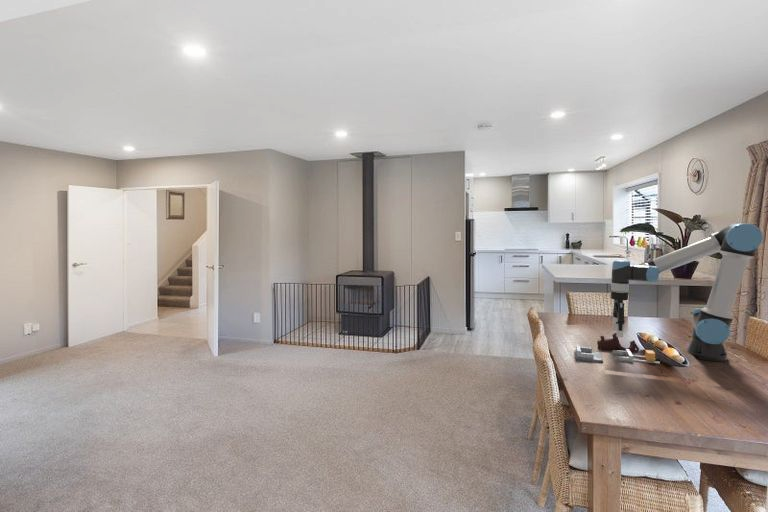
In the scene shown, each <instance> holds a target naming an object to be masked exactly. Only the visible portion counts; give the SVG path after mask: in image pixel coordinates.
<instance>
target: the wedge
mask: <svg viewBox="0 0 768 512" xmlns="http://www.w3.org/2000/svg"><path fill="white" fill-rule="evenodd" d="M644 356H645V358H644V359H645V360H646V361H656V359H655V357H656V352H655V351H654V350H651V349H645V350H644Z"/></svg>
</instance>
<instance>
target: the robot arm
mask: <svg viewBox="0 0 768 512" xmlns="http://www.w3.org/2000/svg"><path fill="white" fill-rule="evenodd" d="M763 234H764V233H763V232H762V230H761V229H760V228H759V227H758V226H757V225H755V224H753V223H749V222H736V223H735V222H734V223H732V224H729V225H728V226H726V227H724V228H722V229H721V230H718V231H716V232H713V233H711V235H710V237H707V238H705V239H702V240H698V241H696V242H694V243H692V244H689V245H687V246H685V247H682V248H679V249H676V250H674V251H671V252H669V253H666V254H663V255H661V256H658V257H656V258H653V259H651V260H649V261H646V262H642V263H639V264H637V265H635V264H631V261H630V260H624V259H615V260H614V261H612V267H611V284H609V285H610V287H611V288H610V289H611V291H610V298H611V300H613V310H612V331H616V332H615V333H616V337H618V338H624V325H625V303H624V302H623V301H627V300H629V291H630V289H629V288H630V281H637V282H639V281H640V282H649V283H652V282H653V283H657V282H659V279H660V278H659V276H660V274H662V273H664V272H668V271H670V270H673V269H676V268H678V267H681V266H684V265H687V264H689V263H692V262H694V261H697V260H700V259H703V258H705V257H709V256H711V255H713V254H717V253H721V255H722V257H721V260H720V262H719V267H718V268H717V273H716V276H715V278H714V282H713V283H712V287H711V291H710V294H709V296H708V298H707V303H706V305H705V306H704V307H702V308H698V307H696V308H694V309H693V311H692V331H691V332H692V333H691V334H692V335H691V340H690V343H689V345H688V347H687V348H686V353H688V354H690V355H691V356H693V358H695V359H698V360H704V361H709V362H725V361H728V353H727V350H726V347H725V345H724V343H725V342H726V341H727V340H728V339H729V338H730V337H731V336H730V335H731V329H730V328H731V326H732V322H733V320H734V317H733V315H732V314H731V312H732V308H733V305H734V303H735V300H736V297H737V294H738V292H739V289H740V285H741V282H742V279H743V276H744V274H745V271H746V268H747V265H748V262H749V260H752V259H754V258H755V255H756V254H757V250H758V248H759V247H760V245H762V243H763V241H764V239H763V238H764V235H763Z"/></svg>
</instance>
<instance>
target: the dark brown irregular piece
mask: <svg viewBox="0 0 768 512" xmlns="http://www.w3.org/2000/svg"><path fill="white" fill-rule="evenodd" d="M616 333H617V332H615V333H613V334H612V335H611V336H612V338H608V339H607V338H606V339H605V337H604V335H600V336H599V337H600V340H599V339H598V340H597V341H596V342H597V347H598V348H600V350H601V351H612V350H620V351H626V349H629V350H630V351H631V353H632V352H633V353H634V352H635V353H637V352H639V351H640V347H639V346H638V345H637V343H636V341H635V340H631V341H629V347H627V348H626V347H624V346H622V345H621V343H620V341H619V337H616Z"/></svg>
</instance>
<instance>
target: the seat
mask: <svg viewBox="0 0 768 512" xmlns="http://www.w3.org/2000/svg"><path fill="white" fill-rule="evenodd" d="M611 351H612V355H615V357H614V359H615V361H616V362H626V363H634V362H637V363H638V362H639V363H646V364H648V363H649V364H658V365H659V364H660V362H661V361H656V360H657V357H656V358H655V361H646V359H645V355H634V354H633V353H632V352H631V351H630V350H629V349H626V351H620V350H611ZM574 354H575V361H580V360H582V361H581V362H590V361H591V363H592V362H593V363H600V364H602V363H604V360H603V358H602V355H601V352H600V351H594V350H593V348H592V347H585V346H580V344H576V345H575V349H574ZM619 355H620V356H619ZM635 358H638V359H635ZM639 358H640V359H639ZM642 359H643V360H642ZM644 359H645V360H644Z"/></svg>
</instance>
